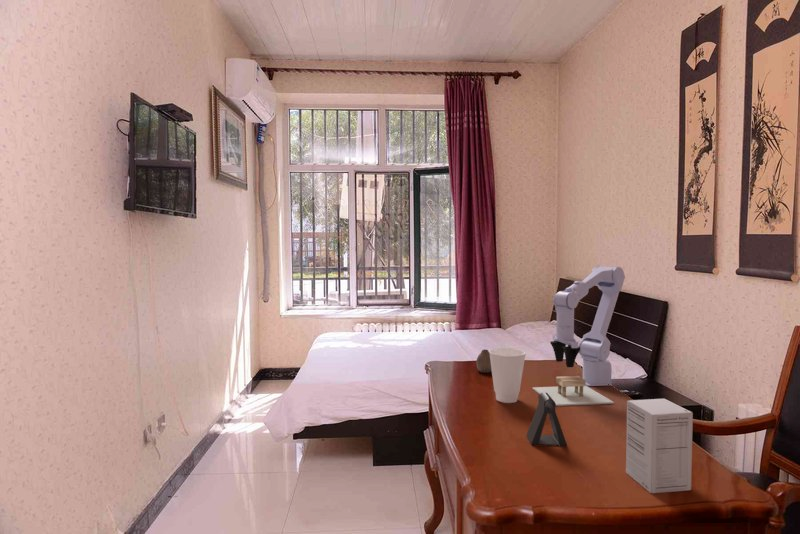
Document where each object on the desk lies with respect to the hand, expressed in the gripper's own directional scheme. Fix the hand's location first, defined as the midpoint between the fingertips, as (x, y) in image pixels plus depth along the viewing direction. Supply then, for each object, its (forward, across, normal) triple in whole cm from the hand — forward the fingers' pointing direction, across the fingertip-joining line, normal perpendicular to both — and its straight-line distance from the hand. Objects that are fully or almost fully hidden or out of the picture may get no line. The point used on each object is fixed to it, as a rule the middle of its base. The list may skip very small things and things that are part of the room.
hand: (564, 364), depth 166 cm
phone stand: (+9, +40, -25) cm, 48 cm away
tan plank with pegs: (+9, +6, -1) cm, 11 cm away
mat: (+9, +6, -1) cm, 11 cm away
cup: (+9, +7, -24) cm, 26 cm away
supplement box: (+9, +63, -11) cm, 64 cm away
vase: (+10, -27, -20) cm, 35 cm away
